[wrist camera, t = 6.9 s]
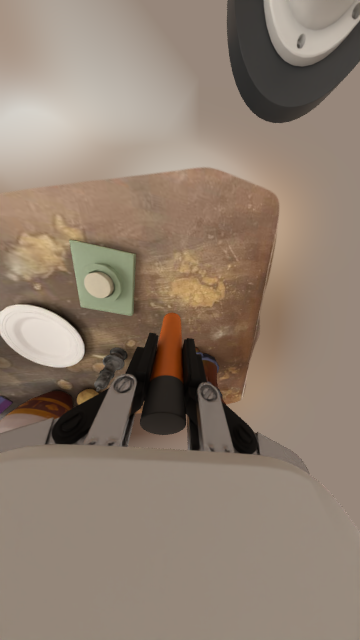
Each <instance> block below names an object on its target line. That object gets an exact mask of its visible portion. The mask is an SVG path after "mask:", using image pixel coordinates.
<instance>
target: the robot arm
mask: <svg viewBox="0 0 360 640" xmlns="http://www.w3.org/2000/svg"><path fill="white" fill-rule="evenodd" d="M264 12H265V18H266V25H267V29H268V32H269V36H270V39H271V42H272V44H273V46H274V48H275V49H276V51H277V53H278V54H279V55H280V56H281V57H282V59H283V60H284V61H286V62H288V63H289V64H291V65H294V66H301V67H303V66H308V65H313V64H315V63H316V62H318V61H320V60H322V59H324V58H325V57H326V56H328V55H329V54H330V53H332V52H333V51H334V50H335V49H336V48H337V47H338V46H339V45H340V44H341V43H342V42H343V41H344V39H345V38H346V37H347V36H348V35H349V33H350V32H351V31H352V30H353V28H354V27H355V26H356V25H357V23H358V22H359V21H360V0H264ZM157 343H158V336H157V335H156V334H155V333H149V336H148V339H147V342H146V345H145V347H144V348H143V347H137V349H136V351H135V353H134V355H133V358H132V360H131V362H130V365H129V367H128V369H127V372H126V374H122V375H120V376H118V377H116V378H115V379H114V380H113V382H112V383H111V385H110V387H109V388H108V389H107V390H105V391H103V392H101V393H99V394H98V395H96V396H94V397H92V398H90V399H89V400H87V401H85V402H83V403H81V404H80V405H78V406H76V407H74V408H72V409H71V410H69V411H67V412H66V413H64V414H63V415H62V416H61V417H59V418H56V419H54V417H52V418H49V419H46V420H42V421H39V422H36V423H32V424H29V425H26V426H22V427H19V428H16V429H12V430H9V431H6V432H3V433H0V640H360V531H359V530H358V528H357V527H356V526H355V524H354V523H353V521H352V520H351V518H350V517H349V516H348V514H347V513H346V512H345V510H344V509H343V508H342V506H341V505H340V504H339V502H338V501H337V500H336V499H335V497H334V496H333V495H332V494H331V493H330V492H329V491H328V490H327V488H325V487H324V486H323V485H322V484H321V483H320V482H319V481H317V480H316V479H315V478H314V477H312V476H311V475H310V474H309V471H308V469H307V467H306V465H305V464H304V463H303V461H302V459H301V458H299V456H298V455H297V454H295V453H294V452H293V451H291V450H289V449H288V448H286V447H284V446H282V445H280V444H278V443H277V442H275V441H273V440H271V439H269V438H267V437H266V436H264V435H262V434H260V433H258V432H257V433H254V432H253V430H252V429H251V428H250V427H249V425H247V423H245V422H244V421H243V420H242V419H241V418H240V417H238V415H236V414H235V413H234V412H233V411H232V410H231V409H230V408H229V407H228V406H226V405H225V404H224V403H223V402H222V401H221V398H220V394H219V392H218V390H217V389H216V387H215V386H213V385H212V384H210V383H207V379H206V374H205V370H204V366H203V361H202V357H201V355H196V349H195V344H194V339H190V338H187V340H184V344H183V348H182V360H183V384H184V390H185V410H186V414H187V432H188V450H175V449H157V448H139V447H128V442H129V439H130V434H131V430H132V426H133V421H134V417H135V412H137V411H138V410H139V409H140V408H141V406H143V402H144V401H145V397H146V393H147V388H148V384H149V382H150V379H151V374H152V369H153V365H154V360H155V356H156V350H157Z"/></svg>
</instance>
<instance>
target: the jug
mask: <svg viewBox="0 0 360 640" xmlns="http://www.w3.org/2000/svg"><path fill="white" fill-rule="evenodd" d="M72 408H73V401H72V397H71V396H70V395H69V394H67V393H65V392H63V391H51V392H49V393H46V394H43V395H40V396H38V397H35V398H32V399H30V400H29V401H27V402H25V403H23V404H22V405H20V406H18V407H17V408H16V409H14V410H13V411H11V412H10V413H9V414H7V415H6V416H5V417H4V418H3V419H2V420H0V433H3V432H6V431H9V430H12V429H16V428H19V427H22V426H26V425H29V424H32V423H36V422H39V421H42V420H46V419H49V418H52V417H54V419H56V418H59V417H61V416H62V415H63V414H64V413H66V412H67V411H69V410H71V409H72Z"/></svg>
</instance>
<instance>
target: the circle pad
mask: <svg viewBox="0 0 360 640" xmlns="http://www.w3.org/2000/svg"><path fill="white" fill-rule="evenodd" d="M84 285H85V288H86V290H87V291H88V292H89V293H90V294H91V295H92V296H94V297H97V298H105V297H107V296H109V295H110V294H111V293H112V292H113V290H114V283H113V281H112V279H111V278H110V277H109V276H108V275H107V274H105V273H103V272H93V273H90V274H88V275H87V276H86V277H85V279H84Z"/></svg>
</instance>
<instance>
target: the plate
mask: <svg viewBox="0 0 360 640" xmlns="http://www.w3.org/2000/svg"><path fill="white" fill-rule="evenodd" d="M0 335H1V336H2V338H3V339H4V340H5V342H6V343H7V344H8V345H9V346H10V347H11V348H12V349H14V350H15V351H16V352H17V353H19V354H20V355H22V356H23V357H25V358H27V359H29V360H31V361H33V362H36V363H39V364H42V365H45V366H51V367H68V366H72V365H74V364H77V363H78V362H79V361H80V360H81V359H82V358H83V356H84V353H85V345H84V342H83V340H82V337H81V336H80V334H79V333H78V331H77V330H76V329H75V328H74V327H73V326H72V325H71V324H70V323H69V322H68V321H67V320H65V319H64V318H62V317H61V316H59V315H57V314H56V313H54V312H51V311H49V310H47V309H45V308H42V307H38V306H34V305H27V304H17V305H13V306H8V307H6V308H5V309H3V310H2V311H1V312H0Z"/></svg>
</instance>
